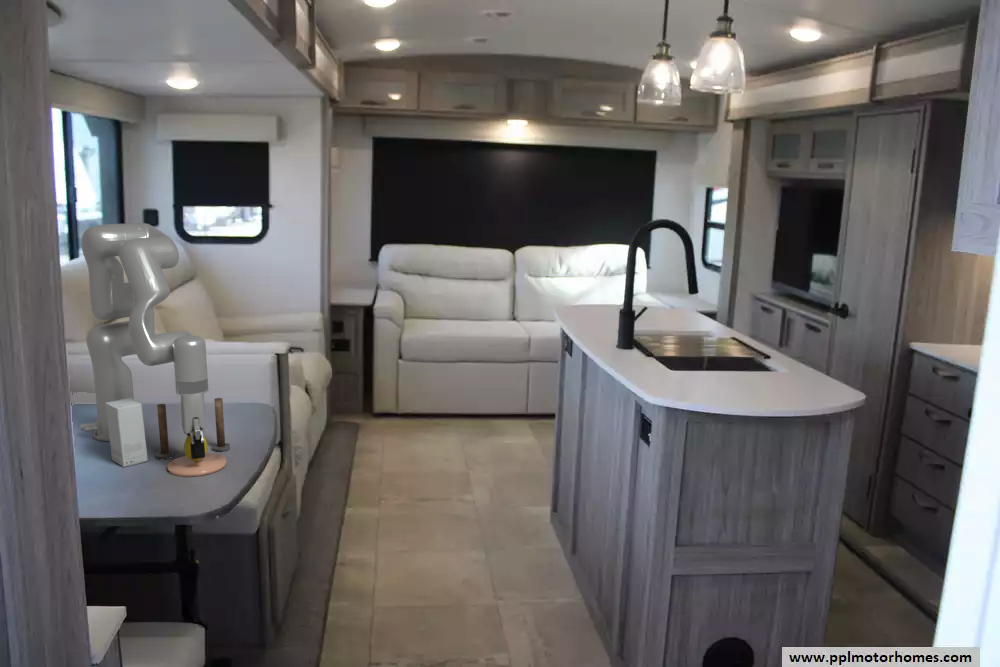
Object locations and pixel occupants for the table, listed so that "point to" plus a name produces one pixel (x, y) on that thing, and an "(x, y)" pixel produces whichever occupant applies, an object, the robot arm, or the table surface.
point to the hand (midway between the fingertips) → (196, 451)
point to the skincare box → (126, 432)
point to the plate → (197, 465)
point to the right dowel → (220, 427)
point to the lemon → (188, 448)
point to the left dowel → (163, 434)
